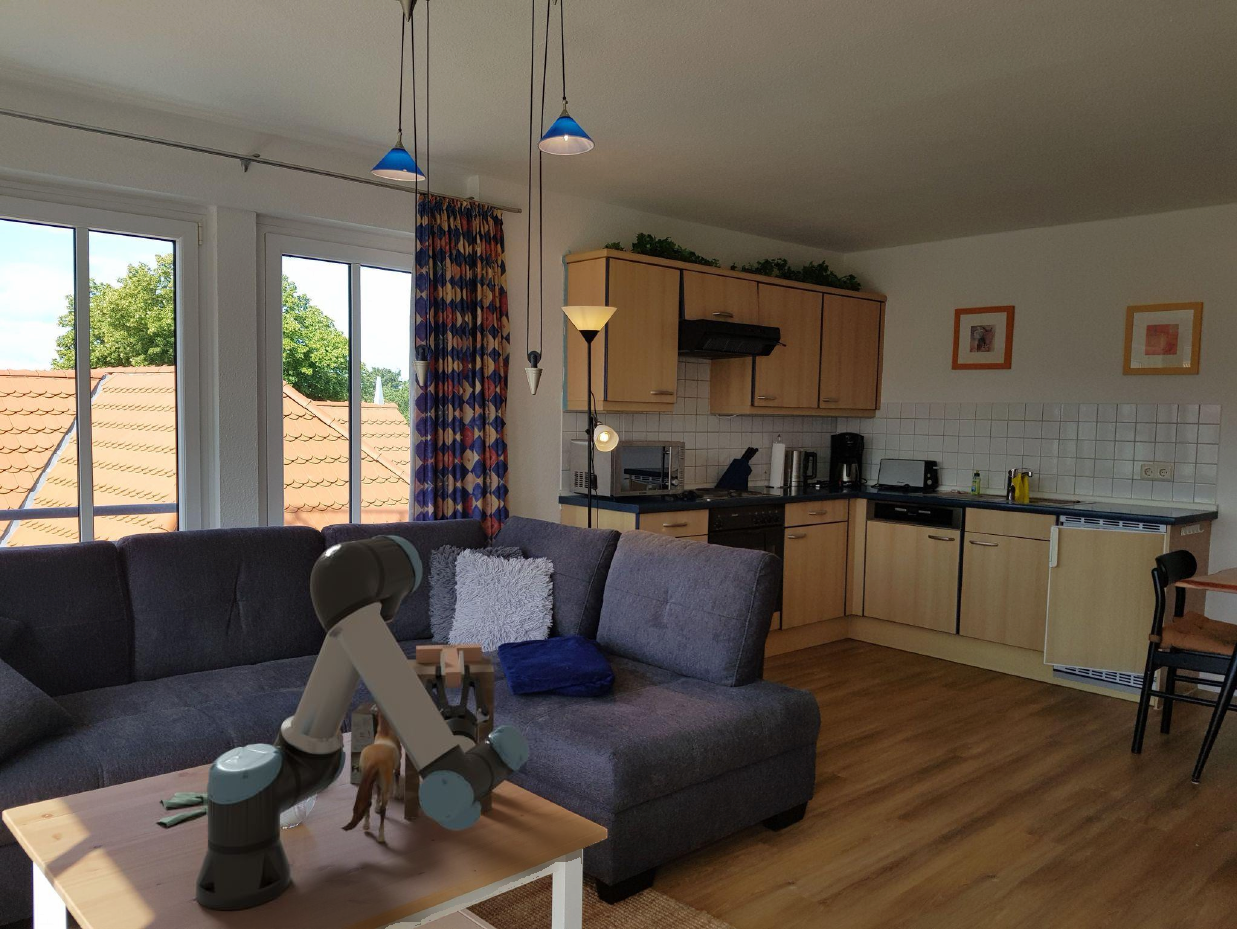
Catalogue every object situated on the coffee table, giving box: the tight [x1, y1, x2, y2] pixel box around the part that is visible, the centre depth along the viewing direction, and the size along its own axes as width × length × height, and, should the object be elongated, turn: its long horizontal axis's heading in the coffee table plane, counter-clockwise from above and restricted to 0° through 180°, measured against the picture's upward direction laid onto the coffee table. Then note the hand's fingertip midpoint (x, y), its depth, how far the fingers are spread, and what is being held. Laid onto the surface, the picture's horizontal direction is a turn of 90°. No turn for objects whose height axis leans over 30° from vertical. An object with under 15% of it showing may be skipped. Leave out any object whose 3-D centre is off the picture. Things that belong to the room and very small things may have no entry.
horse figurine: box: [340, 703, 403, 843], centre depth 181 cm, size 31×8×21 cm, turn 3°
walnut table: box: [403, 656, 495, 819], centre depth 190 cm, size 18×12×30 cm, turn 103°
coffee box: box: [349, 701, 379, 785], centre depth 204 cm, size 9×6×16 cm
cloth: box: [156, 791, 208, 828], centre depth 185 cm, size 20×22×2 cm
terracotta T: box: [415, 643, 483, 689], centre depth 185 cm, size 14×22×3 cm, turn 13°
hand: (451, 655), depth 182 cm, fingers closed on terracotta T, 3 cm apart
